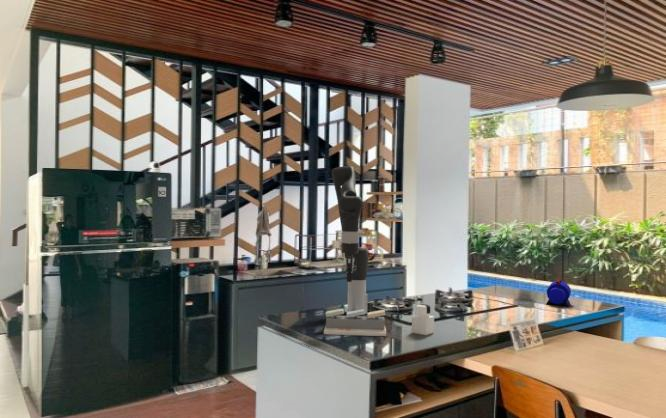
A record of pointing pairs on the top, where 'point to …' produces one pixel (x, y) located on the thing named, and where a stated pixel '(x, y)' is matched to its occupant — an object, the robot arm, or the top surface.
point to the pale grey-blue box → (355, 313)
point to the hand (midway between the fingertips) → (349, 280)
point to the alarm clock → (559, 293)
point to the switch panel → (354, 332)
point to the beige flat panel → (376, 314)
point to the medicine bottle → (423, 320)
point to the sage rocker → (334, 312)
